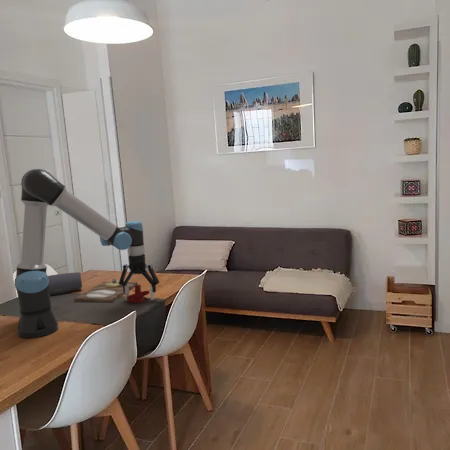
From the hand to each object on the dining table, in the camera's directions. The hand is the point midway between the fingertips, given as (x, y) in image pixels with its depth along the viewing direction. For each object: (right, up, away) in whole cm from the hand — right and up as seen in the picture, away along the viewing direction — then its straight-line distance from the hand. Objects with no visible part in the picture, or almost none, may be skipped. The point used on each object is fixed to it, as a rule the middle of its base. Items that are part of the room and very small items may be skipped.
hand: (140, 298), depth 212 cm
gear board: (-20, 0, +17) cm, 26 cm away
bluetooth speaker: (-46, -1, +22) cm, 51 cm away
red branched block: (-1, -1, +1) cm, 2 cm away
